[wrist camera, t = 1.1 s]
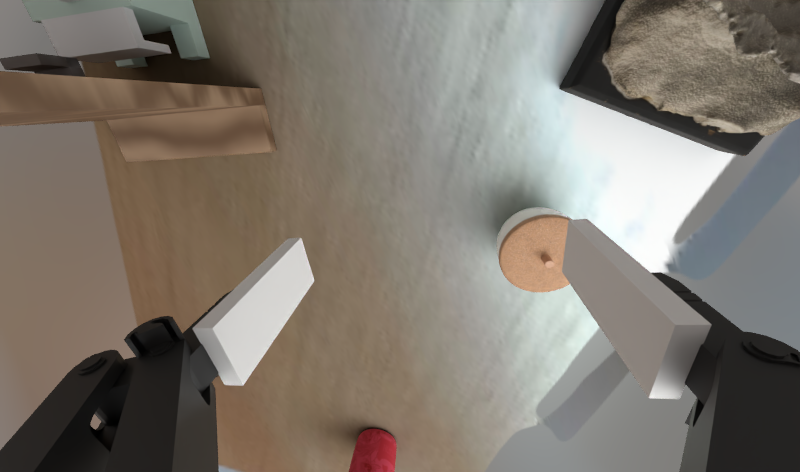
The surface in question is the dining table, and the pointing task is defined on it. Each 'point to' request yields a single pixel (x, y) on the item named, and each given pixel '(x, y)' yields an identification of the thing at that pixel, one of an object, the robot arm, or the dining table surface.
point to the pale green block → (119, 29)
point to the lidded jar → (534, 249)
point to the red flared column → (374, 452)
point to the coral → (695, 67)
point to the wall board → (137, 110)
